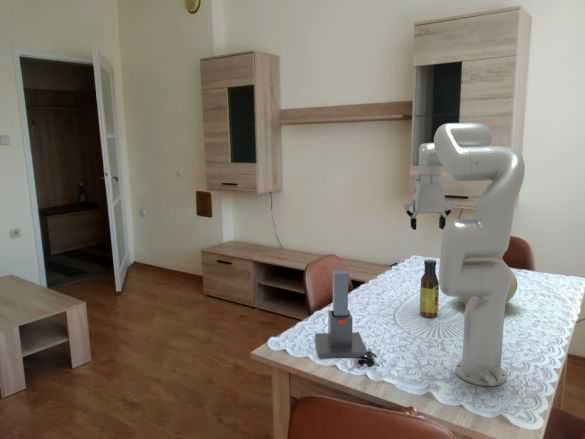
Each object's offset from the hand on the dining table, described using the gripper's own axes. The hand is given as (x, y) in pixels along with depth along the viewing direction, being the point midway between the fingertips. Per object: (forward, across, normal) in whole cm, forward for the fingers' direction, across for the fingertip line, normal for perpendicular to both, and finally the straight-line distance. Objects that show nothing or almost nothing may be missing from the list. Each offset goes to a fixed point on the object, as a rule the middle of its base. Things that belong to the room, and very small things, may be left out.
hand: (427, 228), depth 163 cm
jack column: (+30, -34, -25) cm, 51 cm away
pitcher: (+31, +23, +6) cm, 39 cm away
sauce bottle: (+31, +1, -1) cm, 31 cm away
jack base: (+31, -34, -25) cm, 52 cm away
